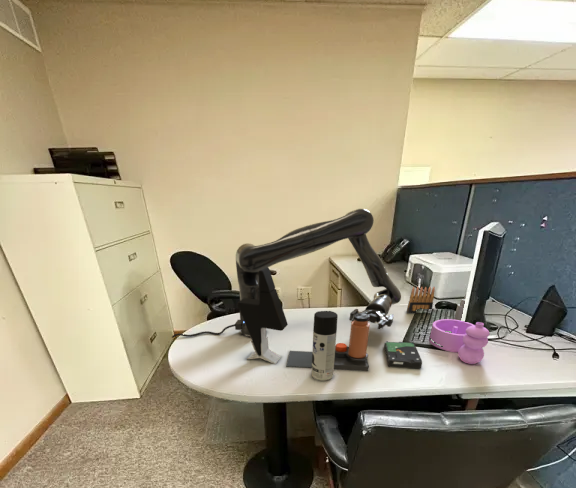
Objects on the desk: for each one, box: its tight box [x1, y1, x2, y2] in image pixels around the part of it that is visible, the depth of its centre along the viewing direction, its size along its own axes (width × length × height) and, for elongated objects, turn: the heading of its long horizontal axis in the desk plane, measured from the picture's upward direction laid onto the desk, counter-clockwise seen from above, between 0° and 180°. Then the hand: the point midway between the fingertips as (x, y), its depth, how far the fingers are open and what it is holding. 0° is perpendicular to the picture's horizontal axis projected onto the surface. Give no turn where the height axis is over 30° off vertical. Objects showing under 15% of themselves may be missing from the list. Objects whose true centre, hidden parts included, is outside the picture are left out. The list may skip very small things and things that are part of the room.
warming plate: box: [346, 351, 369, 360], centre depth 105 cm, size 7×7×1 cm
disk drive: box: [383, 340, 423, 369], centre depth 110 cm, size 10×3×15 cm
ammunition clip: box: [406, 286, 436, 314], centre depth 145 cm, size 11×2×12 cm, turn 89°
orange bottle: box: [348, 313, 371, 358], centre depth 101 cm, size 6×6×13 cm
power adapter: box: [453, 293, 467, 321], centre depth 135 cm, size 3×5×12 cm, turn 81°
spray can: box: [311, 310, 338, 382], centre depth 96 cm, size 7×7×20 cm
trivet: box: [286, 350, 313, 369], centre depth 109 cm, size 11×11×1 cm
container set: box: [428, 318, 490, 365], centre depth 113 cm, size 25×15×13 cm, turn 179°
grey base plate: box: [334, 345, 370, 372], centre depth 107 cm, size 14×11×4 cm
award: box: [236, 267, 288, 365], centre depth 103 cm, size 15×5×30 cm, turn 71°
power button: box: [336, 342, 348, 352], centre depth 108 cm, size 4×4×2 cm
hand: (366, 324), depth 108 cm, fingers open, 8 cm apart
